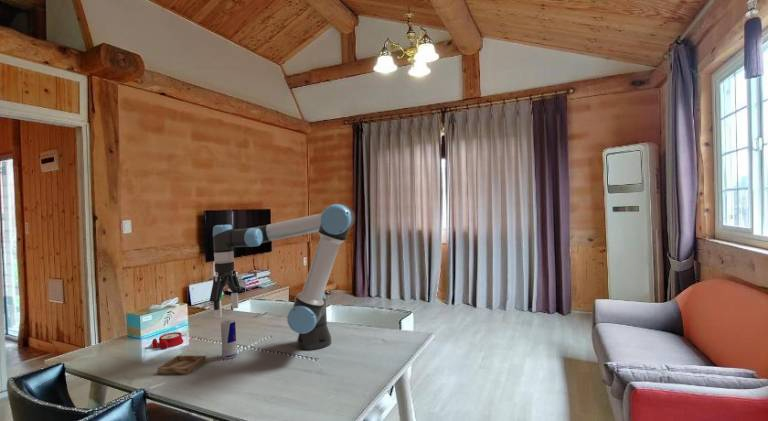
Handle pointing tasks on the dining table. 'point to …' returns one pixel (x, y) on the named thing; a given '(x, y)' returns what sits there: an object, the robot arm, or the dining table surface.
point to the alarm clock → (168, 340)
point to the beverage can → (228, 339)
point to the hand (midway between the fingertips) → (227, 312)
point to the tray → (181, 365)
